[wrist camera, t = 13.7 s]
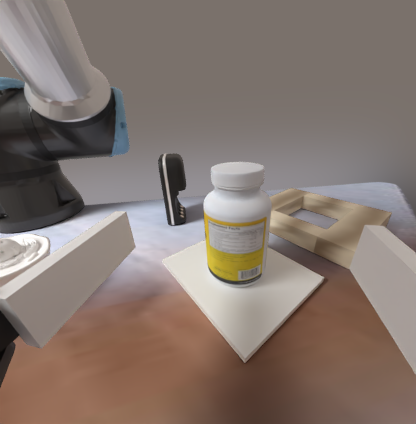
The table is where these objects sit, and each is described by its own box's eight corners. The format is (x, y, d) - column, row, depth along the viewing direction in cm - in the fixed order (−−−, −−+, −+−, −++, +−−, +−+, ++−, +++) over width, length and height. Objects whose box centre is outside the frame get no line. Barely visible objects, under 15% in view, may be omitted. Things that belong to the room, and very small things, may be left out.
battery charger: (190, 224, 33) (183, 157, 28) (168, 227, 32) (156, 159, 27) (188, 208, 39) (182, 150, 34) (169, 210, 38) (160, 152, 33)
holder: (244, 220, 33) (244, 207, 32) (289, 199, 40) (291, 188, 39) (348, 269, 21) (355, 251, 20) (385, 227, 29) (391, 212, 28)
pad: (162, 263, 24) (162, 259, 24) (231, 230, 30) (231, 227, 30) (244, 363, 14) (245, 358, 13) (322, 281, 20) (324, 277, 20)
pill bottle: (236, 244, 26) (238, 157, 21) (277, 270, 21) (292, 165, 16) (196, 265, 22) (187, 167, 17) (234, 302, 18) (235, 181, 13)
